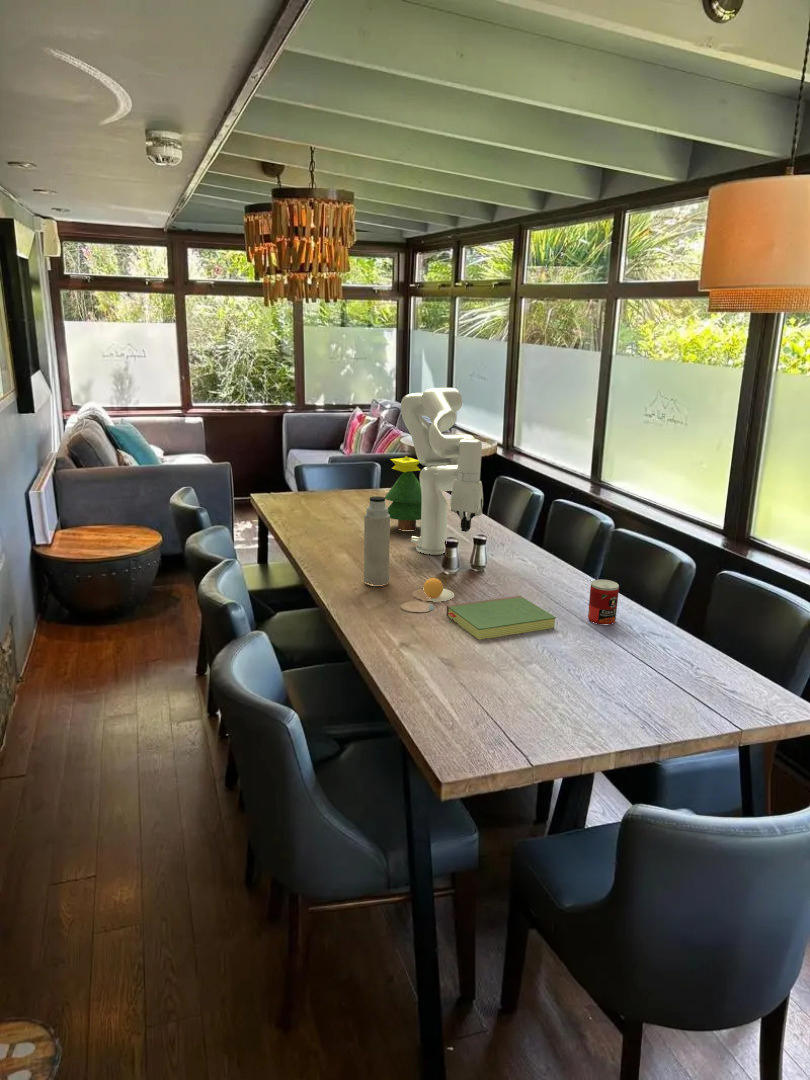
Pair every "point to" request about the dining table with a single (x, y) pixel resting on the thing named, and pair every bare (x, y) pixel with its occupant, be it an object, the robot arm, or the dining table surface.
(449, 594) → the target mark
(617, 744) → the dining table surface
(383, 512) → the thermos bottle
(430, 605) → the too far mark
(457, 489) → the robot arm
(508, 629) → the hardcover book
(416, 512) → the decorative tree
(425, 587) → the ball
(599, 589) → the canned food
